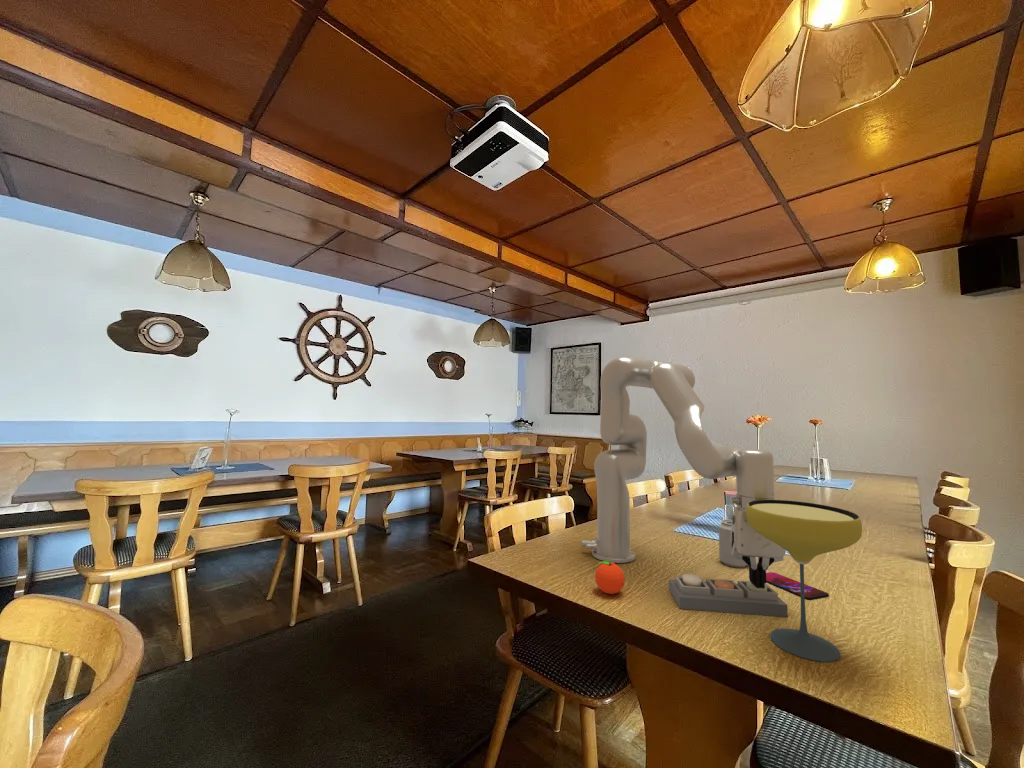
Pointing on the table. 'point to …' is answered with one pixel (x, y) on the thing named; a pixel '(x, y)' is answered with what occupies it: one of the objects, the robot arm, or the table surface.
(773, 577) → the smartphone
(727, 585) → the terracotta button
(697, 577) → the cream button
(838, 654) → the cocktail glass
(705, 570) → the table surface
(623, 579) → the clementine
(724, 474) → the robot arm
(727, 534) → the can
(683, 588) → the button panel
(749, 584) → the sage button
